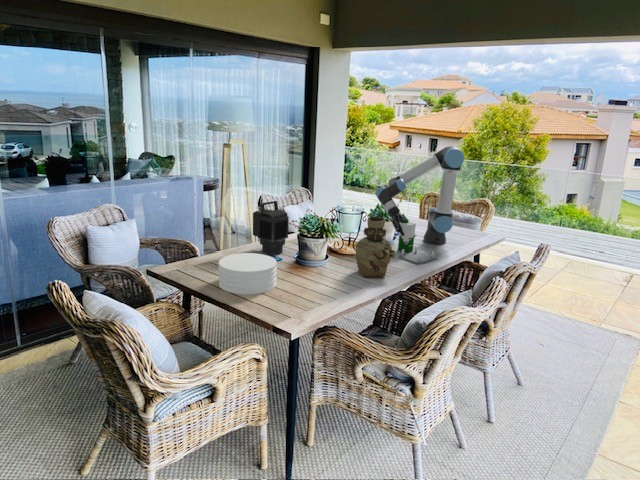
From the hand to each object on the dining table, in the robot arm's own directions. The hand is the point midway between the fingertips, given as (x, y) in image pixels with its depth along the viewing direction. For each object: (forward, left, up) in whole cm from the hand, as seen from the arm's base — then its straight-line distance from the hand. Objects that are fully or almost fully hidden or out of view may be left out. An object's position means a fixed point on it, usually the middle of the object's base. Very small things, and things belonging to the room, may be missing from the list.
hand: (411, 238), depth 300 cm
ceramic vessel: (+49, +14, -9) cm, 52 cm away
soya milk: (0, -3, -9) cm, 9 cm away
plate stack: (+113, -10, -9) cm, 114 cm away
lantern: (+73, -47, -9) cm, 88 cm away
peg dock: (+7, +12, -9) cm, 16 cm away
